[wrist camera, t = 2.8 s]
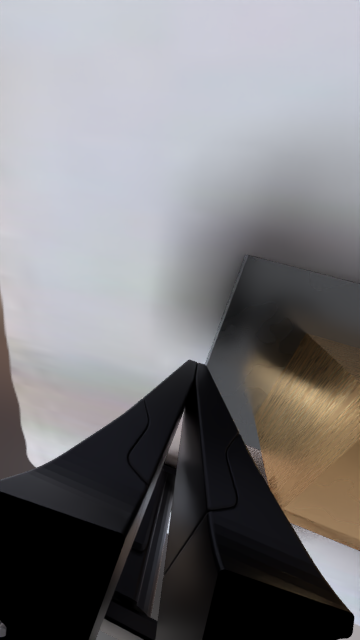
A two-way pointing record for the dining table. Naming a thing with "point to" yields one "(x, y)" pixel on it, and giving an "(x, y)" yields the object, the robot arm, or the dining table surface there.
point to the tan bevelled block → (316, 439)
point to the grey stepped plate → (275, 331)
